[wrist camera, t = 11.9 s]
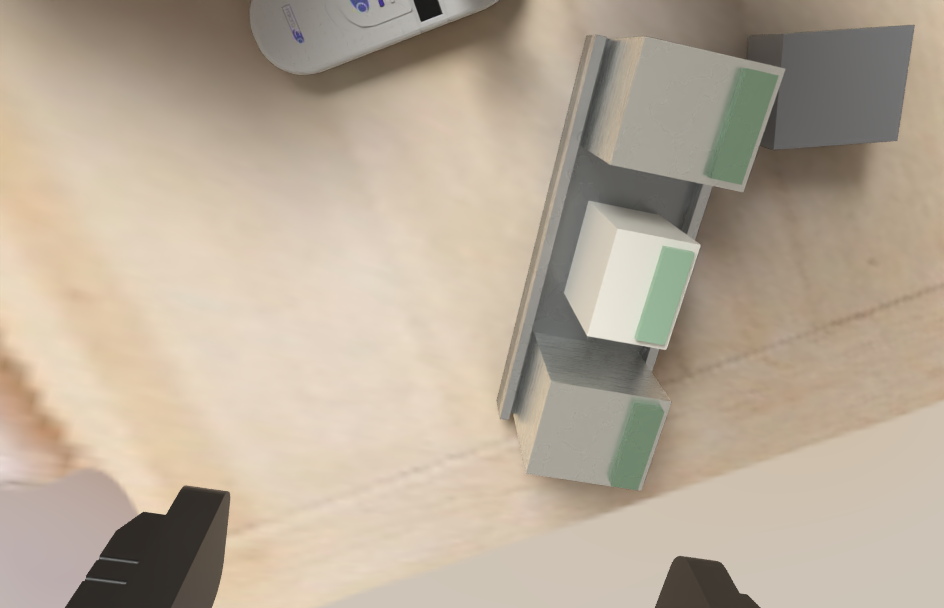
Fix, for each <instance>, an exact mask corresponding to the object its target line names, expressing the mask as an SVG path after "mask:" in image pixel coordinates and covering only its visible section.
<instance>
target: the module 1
mask: <svg viewBox="0 0 944 608" xmlns="http://www.w3.org/2000/svg"><path fill="white" fill-rule="evenodd" d="M700 246H701V245H700V244H699V243H697V242H696V241H695V240H693V239H692V238H691V237H689V236H688V235H686V234H685V233H684V232H682V231H681V230H680V229H678V228H677V227H675V226H674V225H673V224H671V223H670V222H668V221H667V220H666V219H664V218H663V217H662V216H660V215H658V214H653V213H648V212H643V211H638V210H633V209H628V208H623V207H618V206H613V205H608V204H603V203H598V202H593V201H588V205H587V208H586V212H585V216H584V220H583V223H582V227H581V231H580V235H579V238H578V242H577V246H576V250H575V253H574V257H573V261H572V265H571V268H570V272H569V276H568V280H567V283H566V287H565V291H564V294H565V296H566V298H567V300H568V302H569V303H570V305H571V307H572V309H573V311H574V313H575V315H576V316H577V318H578V320H579V322H580V324H581V326H582V328H583V330H584V331H585V333H586V335H587V336H590V337H595V338H601V339H607V340H612V341H618V342H624V343H629V344H635V345H641V346H646V347H652V348H658V349H663V350H667V347H668V343H669V340H670V337H671V334H672V331H673V328H674V325H675V322H676V319H677V316H678V313H679V310H680V307H681V304H682V301H683V298H684V295H685V292H686V289H687V286H688V283H689V280H690V277H691V274H692V271H693V268H694V265H695V262H696V259H697V256H698V253H699V249H700Z"/></svg>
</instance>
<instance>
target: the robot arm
mask: <svg viewBox="0 0 944 608" xmlns="http://www.w3.org/2000/svg"><path fill="white" fill-rule="evenodd" d="M229 506H230V493H229V492H228V491H221V490H214V489H207V488H200V487H193V486H184V487H183V488H182V489H181V490H180V492H179V493H178V495H177V497H176V499H175V500H174V502H173V504H172V505H171V507H170V509H169V511H168V512H167V514H166V515H162V514H155V513H148V512H142V513H141V514H140V515H138V516H137V517H135V518H134V519H132V520H131V521H130V522H128V523H127V524H125V525H124V526H123V527H121V528H120V529H118V530H117V531H116V532H115V533H114V535H113V537H112V538H111V539H110V541H109V542H108V544H107V546H106V547H105V549H104V550H103V552H102V553H101V555H100V557H99V560H97V561H96V562H95V563H94V565H93V567H92V568H91V570H90V571H89V572H88V574H87V575H86V579H85V581H82V583H81V584H80V586H79V587H78V589H77V591H76V592H75V593H74V595H73V596H72V598H71V600H70V601H69V602H68V604H67V606H66V607H65V608H212V606H213V603H214V600H215V597H216V594H217V591H218V587H219V583H220V579H221V575H222V569H223V563H224V553H225V544H226V535H227V525H228V516H229ZM655 608H760V607H759V606H758V605H757V604H756V603H755V602H754V601H753V600H752V599H751V598H750V597H749V596H748V595H746V594H740V593H739V591H738V590H737V588H736V586H735V585H734V583H733V581H732V579H731V577H730V576H729V574H728V572H727V570H726V568H725V567H724V565H723V564H722V563H720V562H718V561H712V560H705V559H698V558H691V557H684V556H678V557H676V558H675V559H674V561H673V562H672V564H671V567H670V570H669V572H668V574H667V577H666V580H665V582H664V585H663V588H662V590H661V593H660V596H659V598H658V601H657V604H656V606H655Z"/></svg>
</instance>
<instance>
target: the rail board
mask: <svg viewBox="0 0 944 608" xmlns="http://www.w3.org/2000/svg"><path fill="white" fill-rule="evenodd" d="M784 72H785V68H780V67H776V66H772V65H768V64H763V63H759V62H755V61H750V60H746V59H742V58H737V57H733V56H729V55H724V54H720V53H716V52H712V51H707V50H703V49H699V48H694V47H690V46H686V45H681V44H677V43H673V42H668V41H664V40H660V39H656V38H651V37H647V36H641V37H628V38H616V39H607V38H606V37H604V36H600V35H588V36H586V40H585V44H584V48H583V52H582V56H581V60H580V64H579V68H578V72H577V76H576V80H575V84H574V88H573V92H572V97H571V101H570V105H569V109H568V113H567V117H566V121H565V125H564V129H563V133H562V137H561V141H560V145H559V149H558V153H557V157H556V162H555V166H554V170H553V174H552V178H551V182H550V186H549V190H548V194H547V198H546V202H545V206H544V210H543V214H542V218H541V223H540V227H539V231H538V235H537V239H536V243H535V247H534V251H533V255H532V259H531V263H530V267H529V271H528V275H527V279H526V283H525V288H524V292H523V296H522V300H521V304H520V308H519V312H518V316H517V320H516V324H515V328H514V332H513V336H512V340H511V344H510V348H509V353H508V357H507V361H506V365H505V369H504V373H503V377H502V381H501V385H500V389H499V393H498V397H497V405H498V411H499V417H500V419H505V420H509V417H510V413H513V416H514V420H515V425H516V430H517V434H518V439H519V444H520V448H521V453H522V458H523V462H524V467H525V472H526V474H532V475H538V476H545V477H552V478H558V479H565V480H572V481H578V482H585V483H592V484H598V485H605V486H611V487H618V488H625V489H631V490H638V491H641V490H642V487H643V484H644V481H645V478H646V475H647V472H648V469H649V467H650V464H651V461H652V458H653V455H654V452H655V449H656V446H657V443H658V440H659V437H660V434H661V431H662V429H663V426H664V423H665V420H666V417H667V414H668V411H669V408H670V405H671V402H672V401H671V400H670V398H669V397H668V395H667V394H666V393H665V391H664V390H663V388H662V387H661V385H660V384H659V382H658V381H657V379H656V378H655V376H654V375H653V373H652V371H653V368H654V365H655V362H656V358H657V355H658V352H659V349H658V348H652V347H646V346H641V345H635V344H629V343H624V342H618V341H612V340H607V339H601V338H595V337H590V336H587V335H586V333H585V331H584V330H583V328H582V326H581V324H580V322H579V320H578V318H577V316H576V315H575V313H574V311H573V309H572V307H571V305H570V303H569V302H568V300H567V298H566V296H565V294H564V291H565V287H566V283H567V280H568V276H569V272H570V268H571V265H572V261H573V257H574V253H575V250H576V246H577V242H578V238H579V235H580V231H581V227H582V223H583V220H584V216H585V212H586V208H587V205H588V201H593V202H598V203H603V204H608V205H613V206H618V207H623V208H628V209H633V210H638V211H643V212H648V213H653V214H658V215H660V216H662V217H663V218H664V219H666V220H667V221H668V222H670V223H671V224H673V225H674V226H675V227H677V228H678V229H680V230H681V231H682V232H684V233H685V234H686V235H688V236H689V237H691V238H692V239H693V240H695V239H696V236H697V233H698V230H699V227H700V224H701V220H702V217H703V214H704V211H705V208H706V205H707V202H708V199H709V196H710V193H711V190H712V187H713V186H715V187H720V188H724V189H729V190H734V191H739V192H744V189H745V186H746V183H747V180H748V177H749V174H750V171H751V169H752V166H753V163H754V160H755V157H756V154H757V151H758V148H759V145H760V142H761V139H762V136H763V133H764V131H765V128H766V125H767V122H768V119H769V116H770V113H771V110H772V107H773V104H774V101H775V98H776V95H777V93H778V90H779V87H780V84H781V81H782V78H783V75H784Z"/></svg>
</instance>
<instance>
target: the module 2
mask: <svg viewBox="0 0 944 608" xmlns="http://www.w3.org/2000/svg"><path fill="white" fill-rule="evenodd" d="M914 26H915V25H904V26H886V27H869V28H854V29H839V30H825V31H810V32H795V33H781V34H766V35H752V36H748V46H747V60H750V61H755V62H759V63H763V64H768V65H772V66H776V67H780V68H785V72H784V75H783V78H782V81H781V84H780V87H779V90H778V93H777V95H776V98H775V101H774V104H773V107H772V110H771V113H770V116H769V119H768V122H767V125H766V128H765V131H764V133H763V136H762V139H761V142H760V145H759V146H762V147H765V148H769V149H772V150H779V149H793V148H807V147H820V146H834V145H848V144H861V143H875V142H889V141H897V139H898V133H899V126H900V119H901V113H902V106H903V99H904V93H905V86H906V79H907V73H908V66H909V59H910V53H911V46H912V39H913V33H914Z"/></svg>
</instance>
